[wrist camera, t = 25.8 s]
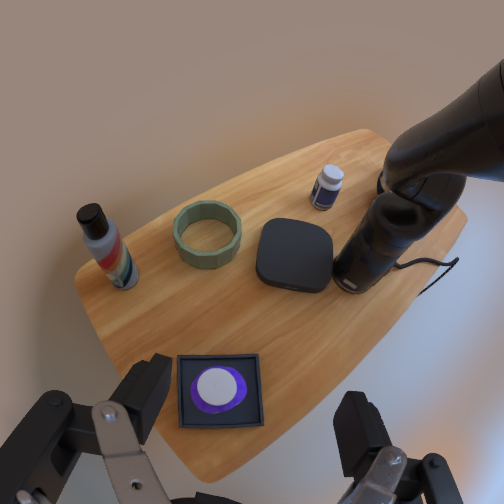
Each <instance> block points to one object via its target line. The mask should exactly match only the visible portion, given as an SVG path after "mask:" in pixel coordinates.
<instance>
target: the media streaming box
mask: <svg viewBox="0 0 504 504" xmlns="http://www.w3.org/2000/svg"><path fill="white" fill-rule="evenodd" d="M332 269H333V243H332V239H331V237H330V235H329V234H328V233H327V232H326V231H325V230H324V229H323V228H321V227H319V226H317V225H314V224H311V223H307V222H303V221H299V220H293V219H286V218H275V219H272V220H270V221H268V222H267V223H266V224H265V225H264V227H263V230H262V235H261V239H260V243H259V248H258V254H257V261H256V272H257V275H258V277H259V278H260V279H261V280H262V281H263V282H264V283H266V284H268V285H272V286H276V287H280V288H285V289H290V290H296V291H302V292H309V293H317V292H320V291H322V290H323V289H324V288H325V287H326V286H327V284H328V283H329V282H330V280H331V277H332Z"/></svg>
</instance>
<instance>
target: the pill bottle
mask: <svg viewBox="0 0 504 504" xmlns="http://www.w3.org/2000/svg"><path fill="white" fill-rule="evenodd" d="M343 176H344V174H343V171H342V170H341V169H340V168H339V167H337V166H334V165H326V166H324V168H323V170H322V172H321V173H320V174H319V175H318V177H317V179H316V182H315V185H314V187H313V190H312V193H311V196H310V201H311V203H312V205H313V206H314V207H316V208H318V209H320V210H328V209H330V208H331V207H332V205H333V203H334V201H335V199H336V197H337V195H338V193H339V191H340V188H341V186H342V182H341V181H342V179H343Z"/></svg>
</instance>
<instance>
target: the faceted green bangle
mask: <svg viewBox="0 0 504 504" xmlns="http://www.w3.org/2000/svg"><path fill="white" fill-rule="evenodd" d="M200 219H217V220H219V221H221V222H223V223H226V224H228V226H229V227H230V228H231V230H232V231H233V232H234V234H235V237H234V238H233V240H232V241H231V243H230V244H229V245H227V246H225V247H223V248H221V249H219V250H217V251H215V252H198V251H196V250H194V249H192V248H190V247H188V246H186V245H184V244H183V242H182V240H181V234H182V233H183V232H184V230H185V229H186V228H187V226H188V225H189V224H191V223H194V222H196V221H198V220H200ZM173 237H174V241H175V246H176V249H177V251H178V253H179V254H180V256H181V258H182V259H183V261H184V262H186V263H188V264H190V265H192V266H194V267H196V268H198V269H216V268H219V267H221V266H223V265H225V264H227V263H228V262H230V261H231V260H232V259H233V258H234V256H235V255H236V253H237V251H238V250H239V248H240V241H241V219H240V218H239V216H238V215H237V214H236V212H235V211H234V210H233V209H232V207H230V206H228V205H226V204H223V203H221V202H219V201H197V202H195V203H193V204H191V205H188V206H186V207H184V208H183V209H182V211H181V212H180V213H179V214H178V215H177V217H176V218H175V220H174V227H173Z"/></svg>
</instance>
